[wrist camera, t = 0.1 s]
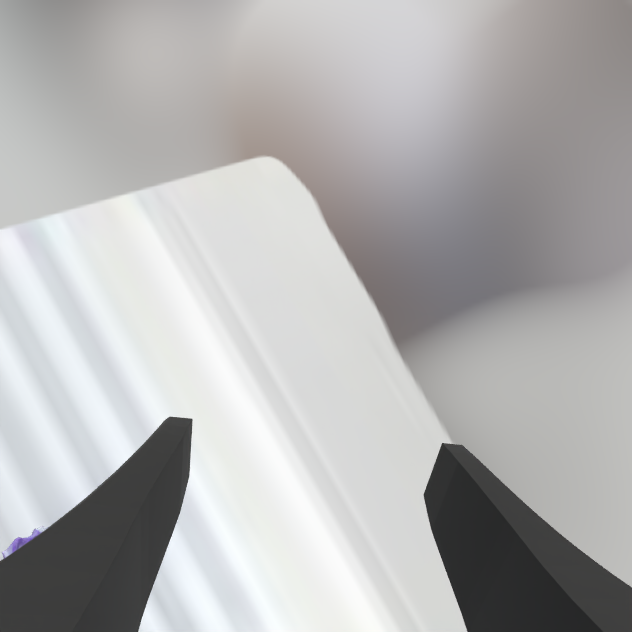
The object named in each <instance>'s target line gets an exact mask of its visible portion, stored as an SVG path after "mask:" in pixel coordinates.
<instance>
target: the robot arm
mask: <svg viewBox="0 0 632 632" xmlns="http://www.w3.org/2000/svg"><path fill="white" fill-rule="evenodd" d="M191 436H192V419H188V418H178V417H169V418H167V419H166V420H165V421H164V422H163V423H162V424H161V425H160V426H159V428H158V429H157V430H156V431H155V432H154V433H153V434H152V435H151V436H150V437H149V439H148V440H147V441H146V442H145V443H144V444H143V445H142V446H141V447H140V448H139V449H138V450H137V451H136V452H135V453H134V454H133V455H132V456H131V457H130V458H129V459H128V460H127V461H126V462H125V463H124V464H123V465H122V466H121V467H120V468H119V469H118V470H117V471H116V472H115V473H113V474H112V475H111V476H110V477H109V478H108V479H107V480H106V481H105V482H103V483H102V484H101V485H100V486H99V487H98V488H97V489H96V490H94V491H93V492H92V493H91V494H90V495H89V496H88V497H86V498H85V499H84V500H83V501H82V502H80V503H79V504H78V505H77V506H76V507H74V508H73V509H72V510H71V511H69V512H68V513H67V514H65V515H64V516H63V517H62V518H60V519H59V520H58V521H56V522H55V523H54V524H52V525H51V526H50V527H48V528H47V529H46V530H44V531H43V532H42V533H40V534H39V535H37V536H36V537H34V538H33V539H32V540H30V541H29V542H27V543H26V544H25V545H23V546H22V547H20V548H19V549H18V550H16V551H15V552H13V553H12V554H10V555H9V556H7V557H6V558H4V559H3V560H1V561H0V632H138V630H139V626H140V622H141V619H142V616H143V613H144V610H145V607H146V604H147V601H148V598H149V595H150V593H151V590H152V587H153V584H154V582H155V579H156V576H157V574H158V571H159V568H160V566H161V563H162V560H163V557H164V555H165V552H166V549H167V547H168V544H169V541H170V538H171V536H172V533H173V530H174V528H175V525H176V522H177V519H178V517H179V514H180V510H181V507H182V503H183V499H184V495H185V491H186V487H187V483H188V479H189V471H190V453H191ZM424 499H425V504H426V508H427V513H428V517H429V522H430V526H431V530H432V533H433V536H434V539H435V541H436V544H437V547H438V550H439V553H440V556H441V558H442V561H443V564H444V567H445V569H446V572H447V575H448V577H449V580H450V583H451V586H452V588H453V591H454V594H455V597H456V599H457V602H458V605H459V608H460V610H461V613H462V616H463V619H464V622H465V625H466V628H467V632H632V588H631V587H630V586H629V585H627V584H626V583H624V582H623V581H621V580H620V579H619V578H617V577H616V576H614V575H613V574H612V573H610V572H609V571H607V570H606V569H605V568H603V567H602V566H600V565H599V564H598V563H597V562H595V561H594V560H593V559H591V558H590V557H589V556H587V555H586V554H585V553H583V552H582V551H581V550H579V549H578V548H577V547H576V546H574V545H573V544H572V543H571V542H569V541H568V540H567V539H566V538H564V537H563V536H562V535H561V534H559V533H558V532H557V531H556V530H554V528H552V527H551V526H550V525H549V524H548V523H547V522H545V521H544V520H543V519H542V518H541V517H539V516H538V515H537V514H536V513H535V512H534V511H533V510H532V509H530V508H529V507H528V506H527V505H526V504H525V503H524V502H523V501H522V500H521V499H519V498H518V497H517V496H516V495H515V494H514V493H513V492H512V491H511V490H510V489H509V488H508V487H507V486H505V485H504V484H503V483H502V482H501V481H500V480H499V479H498V478H497V477H496V476H495V475H494V474H493V473H492V472H491V471H489V469H487V468H486V467H485V466H484V465H483V464H482V463H481V462H480V461H479V460H478V459H477V458H476V457H475V456H473V454H472V453H470V452H469V451H468V450H467V449H466V448H465V447H464V446H462V445H455V444H445V443H442V445H441V448H440V451H439V454H438V456H437V459H436V462H435V465H434V467H433V470H432V473H431V476H430V479H429V481H428V484H427V487H426V490H425V493H424Z"/></svg>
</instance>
